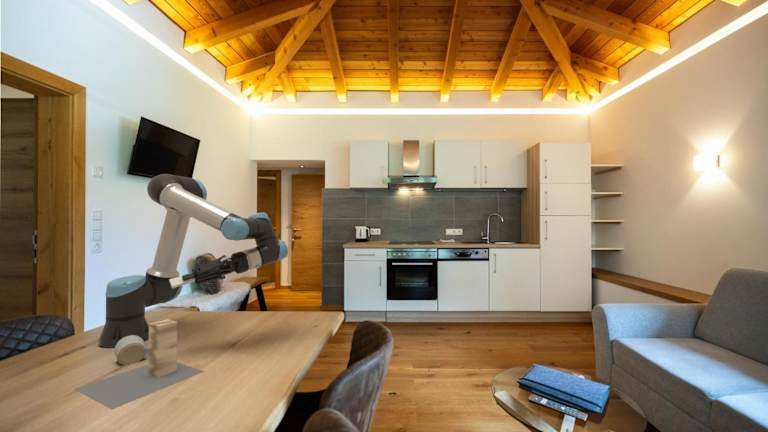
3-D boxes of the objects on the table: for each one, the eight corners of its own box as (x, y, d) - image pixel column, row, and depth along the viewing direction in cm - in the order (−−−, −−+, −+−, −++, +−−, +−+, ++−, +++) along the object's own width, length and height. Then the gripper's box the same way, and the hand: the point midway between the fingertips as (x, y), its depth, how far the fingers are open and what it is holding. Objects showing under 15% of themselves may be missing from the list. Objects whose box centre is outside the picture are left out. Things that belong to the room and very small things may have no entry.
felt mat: (74, 392, 84) (74, 388, 84) (165, 361, 104) (165, 358, 104) (112, 413, 75) (112, 409, 75) (204, 374, 94) (204, 371, 94)
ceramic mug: (116, 370, 98) (117, 344, 98) (113, 362, 103) (114, 337, 104) (159, 361, 105) (160, 336, 105) (154, 353, 111) (155, 330, 111)
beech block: (148, 374, 93) (148, 323, 93) (166, 367, 97) (167, 319, 98) (158, 377, 90) (158, 326, 91) (176, 370, 95) (177, 321, 95)
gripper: (252, 259, 114) (173, 284, 98) (247, 277, 122) (175, 303, 107) (243, 242, 116) (166, 263, 101) (239, 261, 125) (167, 283, 110)
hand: (170, 284), depth 104 cm, fingers closed
